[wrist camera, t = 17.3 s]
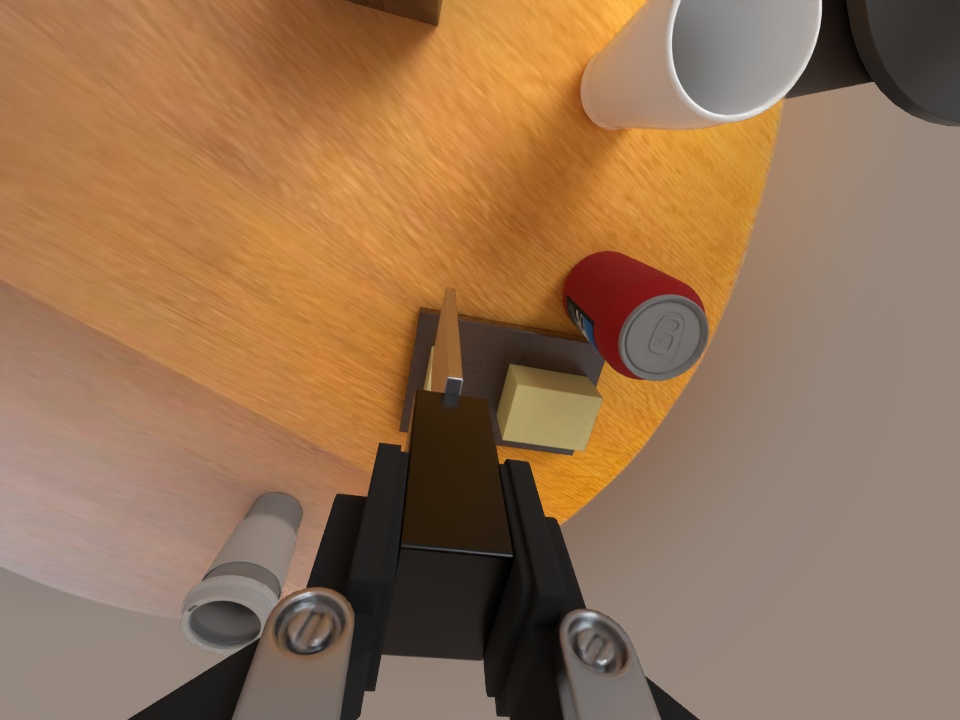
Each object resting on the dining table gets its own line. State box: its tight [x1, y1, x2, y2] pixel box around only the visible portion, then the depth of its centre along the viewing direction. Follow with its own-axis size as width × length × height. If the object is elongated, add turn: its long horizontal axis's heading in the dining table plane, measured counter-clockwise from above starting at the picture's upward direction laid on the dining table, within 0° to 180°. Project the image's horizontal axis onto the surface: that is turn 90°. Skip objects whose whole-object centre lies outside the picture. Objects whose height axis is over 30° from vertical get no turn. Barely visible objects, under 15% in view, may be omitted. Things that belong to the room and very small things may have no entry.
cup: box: [181, 492, 303, 654], centre depth 38 cm, size 7×7×12 cm
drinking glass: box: [580, 0, 822, 131], centre depth 26 cm, size 7×7×15 cm
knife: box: [381, 288, 515, 661], centre depth 16 cm, size 2×4×16 cm, turn 168°
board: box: [399, 307, 605, 455], centre depth 40 cm, size 16×11×2 cm
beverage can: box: [563, 251, 709, 381], centre depth 33 cm, size 7×7×12 cm
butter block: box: [497, 364, 603, 451], centre depth 38 cm, size 7×5×4 cm
